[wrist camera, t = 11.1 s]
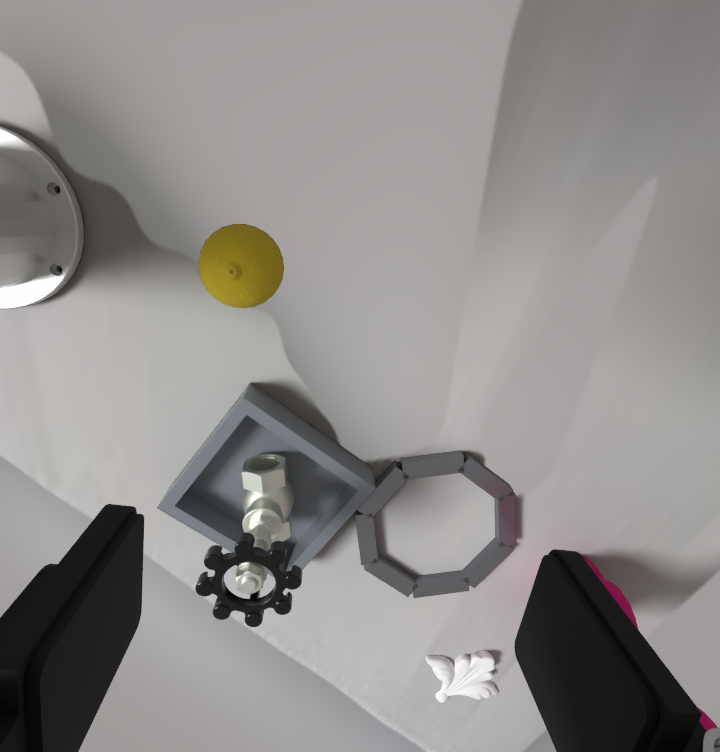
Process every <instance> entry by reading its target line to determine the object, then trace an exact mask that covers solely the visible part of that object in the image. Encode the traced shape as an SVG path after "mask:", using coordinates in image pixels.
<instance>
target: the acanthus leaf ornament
mask: <svg viewBox="0 0 720 752" xmlns="http://www.w3.org/2000/svg"><path fill="white" fill-rule="evenodd" d="M426 661H427V662H428V664H429V665H431V666H432V669H433V672H434V673H435V674H436V676H437V677H438V679H440V680H441V681H442V682H443V684H442V688H441V690H440V691H439V692H437V693H436V699H437V700H438V701H439V702H442V703H444V702H446V701H447V699H448V697H449V696H451V695H465V696H469V697H472V698H474V699H478V700H480V699H481V698H482V697H484V698H489V697H490V695H491V694H492V695H497V694H498V691H497V689H496V688H495V686H494V684H493V683H492V682H491V681H488V680H490V679H492V678H493V674H492V673H491V671H492V670H494V669H495V665H494V663H495V661H494V658H493V657H492V655H491V654H490V653H489V652H488V651H480V652H477V653H473V654H472V655H470V657H468V656H467V655H466V654H462V655H459V656H458V657H457V658H456V659H455V661H454V664H452V663H451V661H450V660H449V659H447V658H446V657H444V656H432V655H427V656H426Z"/></svg>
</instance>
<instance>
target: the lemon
mask: <svg viewBox="0 0 720 752" xmlns="http://www.w3.org/2000/svg"><path fill="white" fill-rule="evenodd" d="M198 263H199V274H200V277H201V280H202V283H203V284H204V286H205V288H206V289H207V291H208V292H209V293H210V294H211V295H212V296H213V297H214V298H215V299H217V300H218V301H220V302H222V303H223V304H226V305H229V306H232V307H238V308H248V307H254V306H257V305H259V304H262V303H264V302H265V301H267V300H268V299H269V298H270V297H272V296H273V295H274V293H275V292H276V291H277V289H278V288H279V286H280V283H281V281H282V278H283V271H284V265H283V258H282V255H281V252H280V249H279V247H278V246H277V244H276V243H275V242H274V240H273V239H272V238H271V237H270V236H269V235H268V234H267V233H265V232H264V231H262V230H260V229H258V228H256V227H254V226H250V225H246V224H233V225H229V226H225V227H222V228H221V229H219V230H217V231H216V232H214V233H213V234H212V235H211V236H210V237H209V238H208V239H207V240H206V241H205V244H204V245H203V247H202V249H201V251H200V256H199V261H198Z"/></svg>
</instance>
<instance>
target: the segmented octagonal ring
mask: <svg viewBox="0 0 720 752" xmlns="http://www.w3.org/2000/svg"><path fill="white" fill-rule="evenodd" d="M454 473H462V474H463V475H464V476H466V477H467V478H468V479H470V480H471V481H472V482H474V483H475V484H476V485H478V486H479V487H481V488H482V489H483V490H485V491H486V492H487V493H489V494H490V495H491V496H493V497H494V498H495V538H494V539H493V540H492V541H491V542H490V543H489V544H488V545H487V546H486V547H485V548H484V549H483V550H482V551H481V552H480V553H479V554H478V555H477V556H476V557H475V558H474V559H473V560H472V561H471V562H470V563H469V564H468V565H467V566H466V567H465V568H464V569H463V570H462V571H454V572H447V573H439V574H431V575H424V576H416V577H414V576H412V575H411V574H409V573H408V572H406V571H405V570H403V569H402V568H400V567H399V566H397V565H395V564H394V563H392V562H391V561H389V560H388V559H386V558H385V557H383V556H381V555H380V554H378V553H377V545H376V536H375V527H374V518H373V516H374V515H375V514H376V513H377V512H378V511H379V510H380V509H381V508H382V506H383V505H384V504H385V503H386V502H387V501H388V500H389V499H390V498H391V497H392V496H393V494H394V493H395V492H396V491H397V490H398V489H399V488H400V487H401V486H402V485H403V484H404V482H405V481H406V480H407V479H414V478H422V477H430V476H438V475H446V474H454ZM375 487H376V489H375V490H374V491H373V492H372V493H371V494H370V495H369V497H368V498H367V499H366V500H365V501H364V502H363V503H362V504H361V505H360V506H359V508H358V509H357V510H356V511H355V518H356V526H357V534H358V542H359V550H360V558H361V565H364V570H366V571H368V572H369V573H371V574H372V575H374V576H376V577H377V578H379V579H380V580H382V581H383V582H385V583H387V584H388V585H390V586H391V587H393V588H395V589H396V590H398V591H399V592H401V593H403V594H404V595H406V596H407V597H408V596H409V595H410V594H411V593H412V592H413V597H414V598H418V597H425V596H433V595H441V594H448V593H456V592H463V591H469V585H471V586H472V587H474V588H475V587H476V586H477V585H478V584H479V583H480V582H481V581H482V580H483V579H484V578H486V577H487V576H488V575H489V574H490V573H491V572H492V571H493V570H494V569H495V568H496V567H497V566H498V565H499V564H500V563H501V562H502V561H503V560H504V559H505V558H506V557H507V556H508V555H509V554H510V553H511V552H512V551H513V549H512V547H511V546H512V545H516V495H515V493H514V492H513V489H512V488H511V486H510V485H509V484H508V483H507V482H505V481H504V480H503V479H501V478H500V477H499V476H497V475H496V474H495V473H493V472H492V471H491V470H489V469H488V468H487V467H486V466H484V465H483V464H482V463H480V462H479V461H478V460H476V459H475V458H474V457H472V456H471V455H470V454H468V453H466V454H465V455H464V456H463V454H462V452H461V451H455V452H447V453H438V454H430V455H422V456H414V457H406V458H401V465H399V464H398V463H396V462H395V461H394V462H393V464H392V465H391V466H390V467H389V468H388V469H387V470H386V471H385V472H384V474H383V475H382V476H381V477H380V478H379V479H378V480H377V481H376V482H375Z"/></svg>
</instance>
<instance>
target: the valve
mask: <svg viewBox="0 0 720 752" xmlns="http://www.w3.org/2000/svg"><path fill="white" fill-rule="evenodd" d="M242 480H243V487H244V491H243V495H242V505H243V509H244V512H245V515H244V519H243V523H242V527H243V530H244V533H241V534H240V535H239V536H238V537H237V540H236V544H235V547H234V550H235V552H233V553H227V554H225V555H223V554H222V552H221V550H222V547H221V546H218V545H215V546H212V547H210V548H209V549H208V551H207V554H206V557H205V559H204V564H205V566H206V567H207V568H208V569H211V570H215V575H214V576H213V577H208V572H204V573H202V574H201V575H200V577H199V579H198V582H197V585H196V592H197V593H198V594H199V595H201V596H209V595H211V594H215V595H216V596H217V597H218V598H217V599H216V602H215V606H214V609H213V615H214V617H216V618H217V619H221V620H223V619H226V618H228V617H229V616H230V613H231V612H232V611H234V610H236V611H241V612H244V613H245V615H246V616H245V623H246V624H247V625H248V626H250V627H257V626H259V625H260V624H261V623H262V620H263V614H264V610H265V609H267V608H274V610H275V612H276V613H278V614H280V615H285V614H287V613H289V612H290V610H291V606H292V594H291V593H290V592H288V593H287V594H286V596H285V595H284V594H283V591H284V589H285V588H288V589H297V588H298V587H299V586H300V585H301V582H302V569H301V568H300V567H299V566H296V565H292V570H290V571H284V569H283V567H282V565H281V564H282V563H284V561H285V560H286V554H287V546H286V544H285V543H284V542H283V541H285V540H287V539H288V538H290V537H291V532H292V515H291V510H292V507H293V502H294V494H293V490H292V487H291V485H290V483H289V481H288V480H287V465H286V458H285V457H283V456H280V455H277V454H261V455H257V456H254V457H251V458H249V459H247V460H246V461H245V462H244V464H243V467H242ZM234 565H238V566H237V570H236V583H237V588H238V590H240V591H242V592H244V593H247V594H251V595H250V599H244V598H240V597H238V596H236V595H234V594H233V593H231V592H230V591H229V590H228V588H227V587H226V585H225V583H224V574H225V573H226V571H227V570H228V569H229V568H231V567H232V566H234ZM268 569H269V570H270V571H271V572H272V574H273V575H274V577H275V581H276V585H275V587H274V588H273V590H272V591H271V592H270V593H269V594H267V595H266V596H264V597H261V598H259V597H260V589H261V588H263V583H264V580H265V579H266V576H267V571H268Z"/></svg>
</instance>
